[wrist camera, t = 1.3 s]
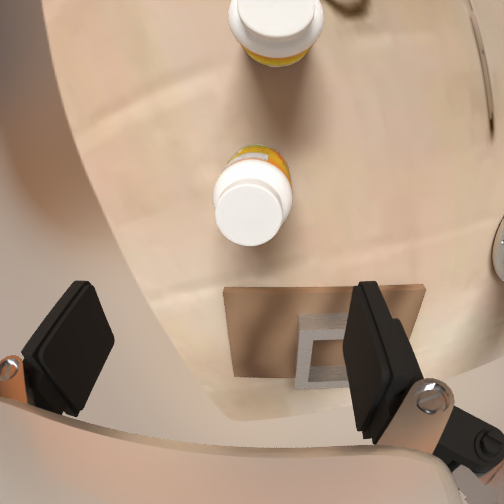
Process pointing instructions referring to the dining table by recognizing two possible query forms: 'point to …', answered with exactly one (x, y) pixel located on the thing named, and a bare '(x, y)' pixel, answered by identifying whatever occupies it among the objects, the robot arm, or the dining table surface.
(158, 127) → the dining table surface
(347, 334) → the robot arm
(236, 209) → the supplement bottle
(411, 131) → the dining table surface
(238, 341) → the board
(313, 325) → the collar
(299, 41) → the supplement bottle
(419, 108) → the dining table surface
